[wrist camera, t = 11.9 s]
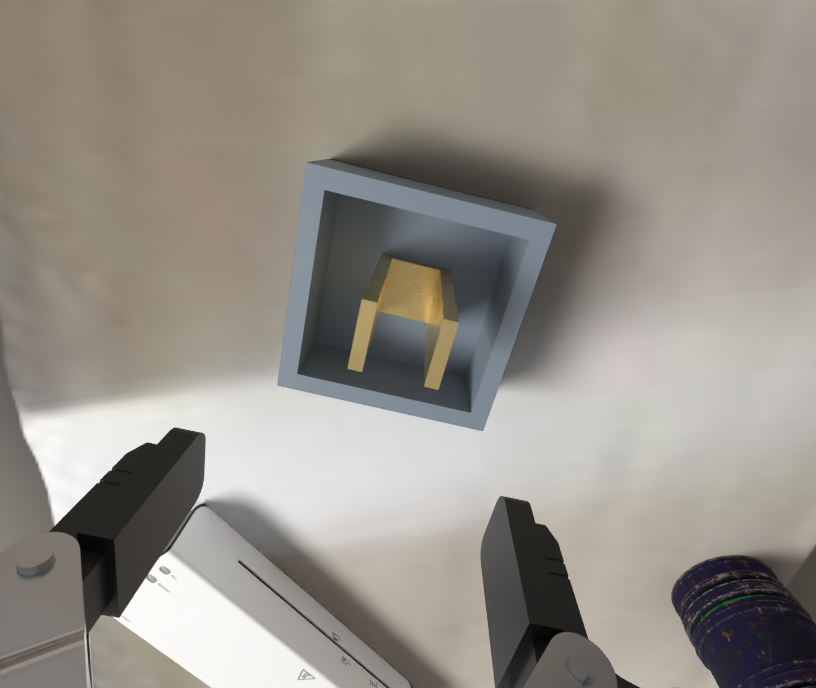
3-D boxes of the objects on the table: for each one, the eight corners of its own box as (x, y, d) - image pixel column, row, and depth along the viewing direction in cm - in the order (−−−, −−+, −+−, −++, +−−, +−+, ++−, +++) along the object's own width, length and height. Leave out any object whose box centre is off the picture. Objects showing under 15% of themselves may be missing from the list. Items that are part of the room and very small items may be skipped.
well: (534, 210, 31) (556, 224, 26) (475, 388, 37) (483, 431, 32) (328, 159, 31) (306, 162, 25) (300, 349, 36) (277, 385, 31)
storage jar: (710, 638, 48) (822, 836, 34) (648, 593, 45) (742, 786, 32) (798, 589, 44) (962, 787, 31) (736, 538, 42) (883, 727, 28)
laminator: (414, 683, 54) (412, 746, 48) (335, 716, 57) (324, 779, 51) (201, 496, 44) (167, 549, 38) (121, 550, 47) (78, 605, 41)
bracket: (450, 270, 32) (458, 322, 23) (436, 321, 34) (438, 389, 25) (382, 253, 32) (361, 299, 23) (370, 305, 34) (347, 368, 24)
